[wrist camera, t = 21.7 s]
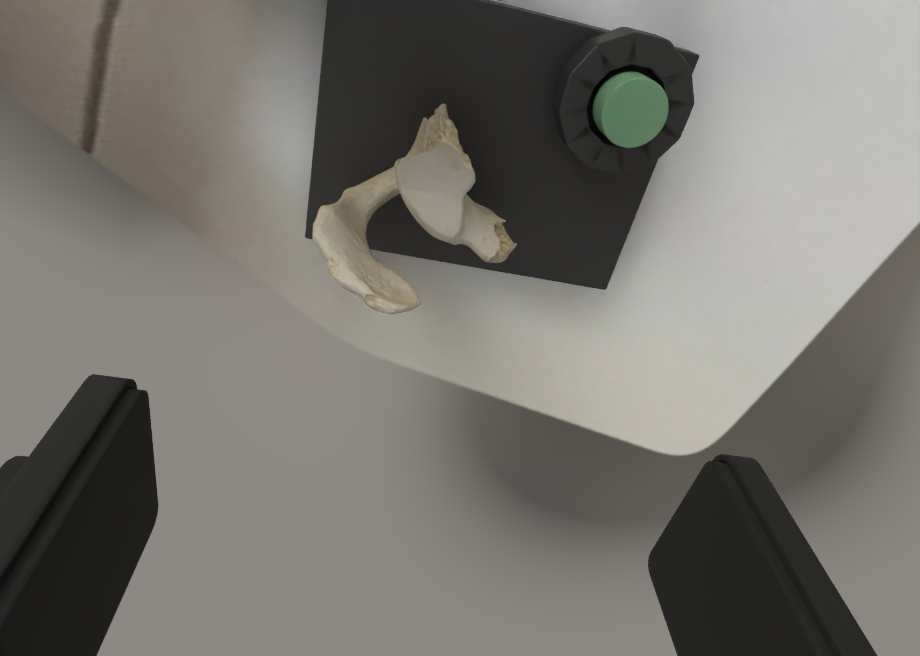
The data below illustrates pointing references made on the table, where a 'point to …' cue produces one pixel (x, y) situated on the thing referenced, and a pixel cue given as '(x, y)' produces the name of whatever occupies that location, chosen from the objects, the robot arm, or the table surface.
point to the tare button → (630, 109)
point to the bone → (430, 202)
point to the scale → (493, 125)
